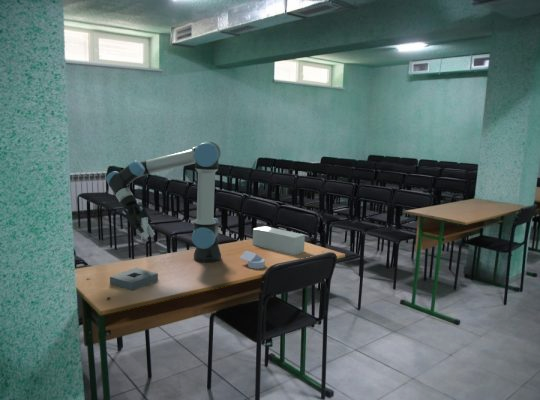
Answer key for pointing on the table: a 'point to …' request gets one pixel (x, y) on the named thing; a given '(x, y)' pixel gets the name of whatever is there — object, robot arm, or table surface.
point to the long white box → (278, 240)
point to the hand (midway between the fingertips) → (150, 236)
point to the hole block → (133, 278)
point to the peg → (145, 223)
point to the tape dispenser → (253, 260)
